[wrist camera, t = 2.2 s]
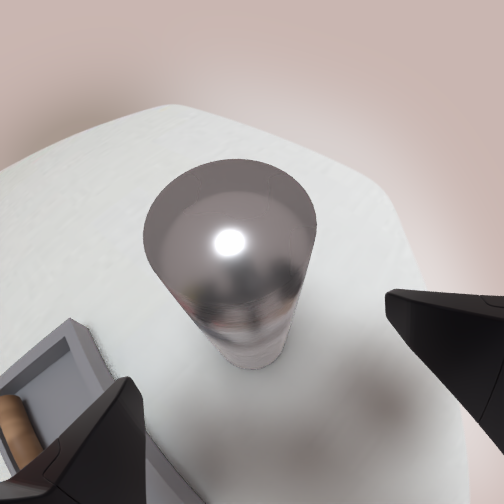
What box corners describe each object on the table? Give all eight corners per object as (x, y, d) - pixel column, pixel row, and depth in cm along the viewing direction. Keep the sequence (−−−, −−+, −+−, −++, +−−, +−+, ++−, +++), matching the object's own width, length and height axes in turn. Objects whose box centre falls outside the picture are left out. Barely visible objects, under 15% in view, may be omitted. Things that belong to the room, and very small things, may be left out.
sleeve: (299, 339, 18) (352, 226, 7) (245, 383, 17) (205, 343, 6) (256, 291, 20) (242, 140, 9) (203, 331, 19) (119, 214, 8)
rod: (63, 473, 12) (40, 476, 10) (44, 482, 11) (21, 485, 9) (27, 398, 15) (3, 392, 13) (10, 410, 14) (-13, 405, 12)
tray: (208, 506, 12) (200, 520, 10) (84, 551, 8) (68, 559, 6) (87, 328, 19) (69, 317, 17) (-2, 399, 15) (-20, 395, 13)
